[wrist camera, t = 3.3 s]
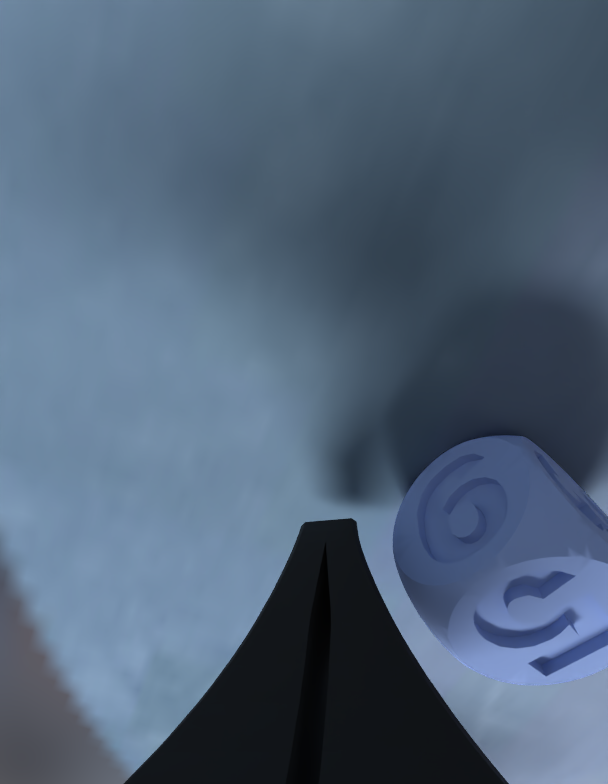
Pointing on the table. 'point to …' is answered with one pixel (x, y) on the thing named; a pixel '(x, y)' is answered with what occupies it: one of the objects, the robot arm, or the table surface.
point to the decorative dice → (507, 562)
